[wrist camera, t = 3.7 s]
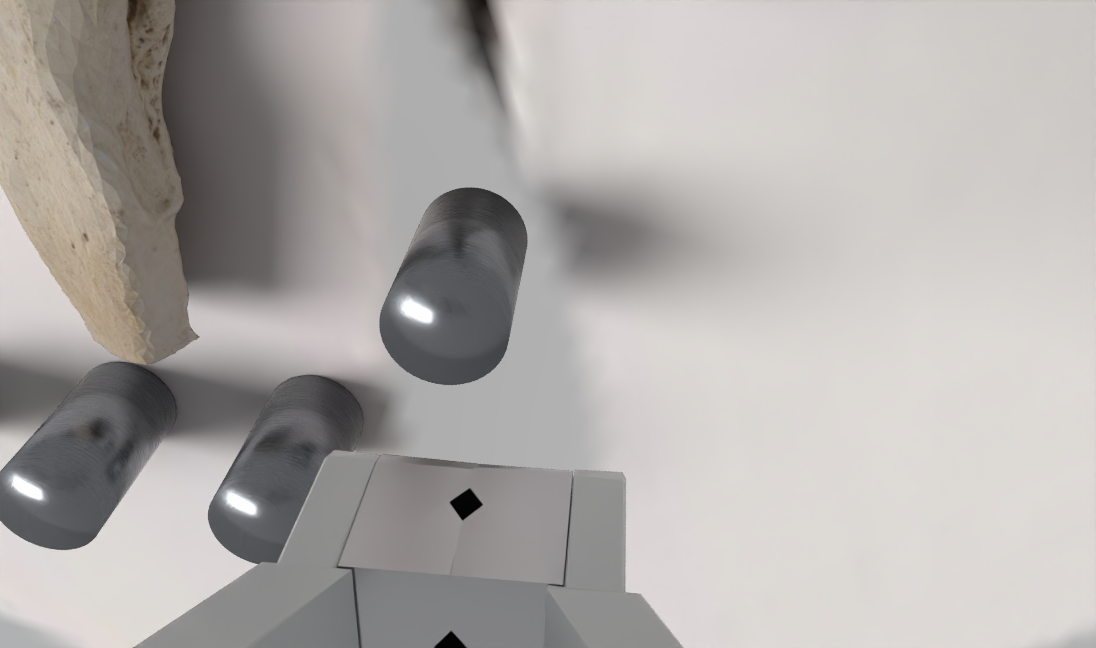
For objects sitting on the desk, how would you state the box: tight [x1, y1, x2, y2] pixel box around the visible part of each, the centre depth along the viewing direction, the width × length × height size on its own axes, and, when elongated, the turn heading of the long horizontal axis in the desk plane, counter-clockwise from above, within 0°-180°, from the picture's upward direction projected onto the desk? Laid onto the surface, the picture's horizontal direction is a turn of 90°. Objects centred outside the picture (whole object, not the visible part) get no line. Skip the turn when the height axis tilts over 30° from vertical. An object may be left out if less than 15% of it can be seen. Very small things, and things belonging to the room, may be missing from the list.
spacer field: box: [0, 188, 527, 564], centre depth 21 cm, size 20×25×5 cm
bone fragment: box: [0, 0, 199, 365], centre depth 22 cm, size 14×6×5 cm, turn 175°
